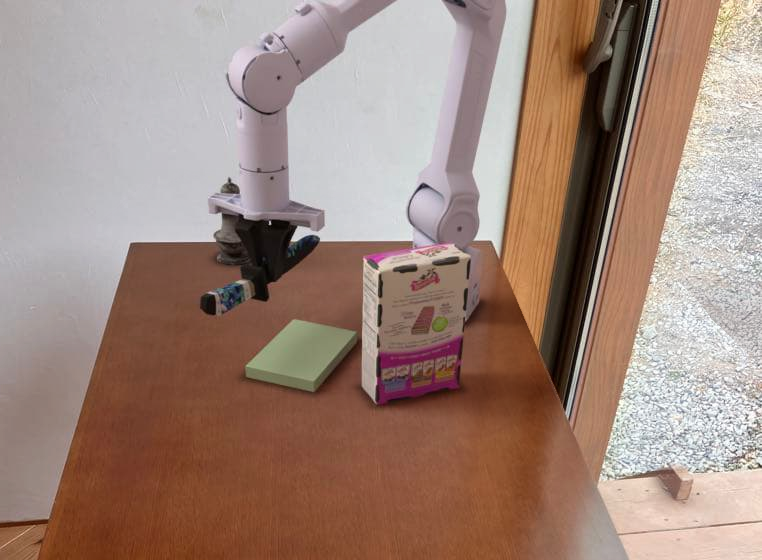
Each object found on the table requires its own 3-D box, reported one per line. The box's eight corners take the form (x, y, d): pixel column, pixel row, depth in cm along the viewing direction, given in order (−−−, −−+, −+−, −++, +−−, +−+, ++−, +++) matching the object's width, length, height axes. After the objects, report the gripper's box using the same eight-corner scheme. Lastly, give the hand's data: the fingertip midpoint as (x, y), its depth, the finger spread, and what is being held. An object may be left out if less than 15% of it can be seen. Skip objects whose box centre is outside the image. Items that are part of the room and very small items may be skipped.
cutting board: (356, 342, 115) (357, 331, 114) (314, 392, 105) (314, 381, 104) (293, 329, 117) (293, 318, 116) (245, 377, 107) (245, 366, 106)
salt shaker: (210, 263, 133) (203, 181, 126) (221, 249, 138) (215, 169, 130) (248, 267, 133) (243, 185, 125) (258, 252, 137) (254, 172, 130)
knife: (210, 335, 100) (209, 296, 97) (188, 328, 101) (186, 290, 98) (335, 262, 123) (337, 230, 120) (316, 258, 124) (318, 225, 121)
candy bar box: (440, 370, 110) (452, 239, 99) (459, 389, 106) (474, 256, 96) (357, 386, 106) (361, 253, 96) (375, 407, 103) (381, 270, 92)
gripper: (191, 166, 101) (201, 279, 110) (307, 184, 97) (308, 300, 106) (220, 149, 106) (228, 259, 115) (331, 166, 102) (331, 278, 111)
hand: (268, 277), depth 111 cm, fingers closed on knife
